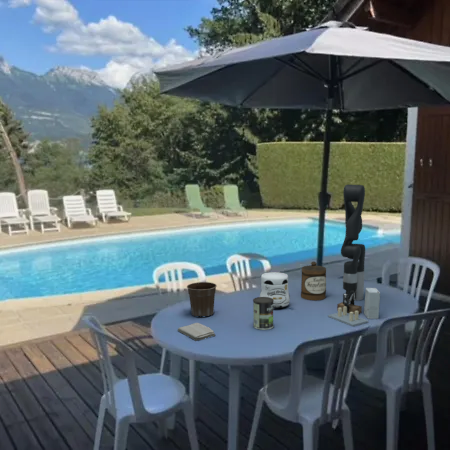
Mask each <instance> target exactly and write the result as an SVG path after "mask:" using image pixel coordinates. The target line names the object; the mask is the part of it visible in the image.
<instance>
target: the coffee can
mask: <svg viewBox="0 0 450 450" xmlns="http://www.w3.org/2000/svg"><path fill="white" fill-rule="evenodd" d="M273 301H274V300H273V299H272V298H269V297H260V296H258V297H254V298H253V299H252V302H253V306H252V307H253V311H252V312H253V319H252V321H253V328H254V329H257V330H260V331H261V330H262V331H265V330H271V329H273V328H274V308H273Z"/></svg>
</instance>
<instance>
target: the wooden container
mask: <svg viewBox="0 0 450 450" xmlns="http://www.w3.org/2000/svg"><path fill="white" fill-rule="evenodd" d="M317 264H318V263H317V262H316V261H311V262H310V265H304V266H302V267H301V283H300V290H301V292H300V297H301V298H302V299H304V300H307V301H323V300H325V299H326V298H327V268H326V267H324V266H323V265H317Z"/></svg>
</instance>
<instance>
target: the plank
mask: <svg viewBox="0 0 450 450" xmlns="http://www.w3.org/2000/svg"><path fill="white" fill-rule="evenodd" d="M344 306H345V305H344V304H343V301H342V302H339V303H337V312H338V308H342V312H343V307H344ZM355 311H359V315H360V313H361V314H362V311H363V306H361V305H358V304H354V305H353V304H350V303H349V311H348V312H347V313H349V314H350V312H354V316H355Z"/></svg>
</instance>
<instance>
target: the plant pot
mask: <svg viewBox="0 0 450 450" xmlns="http://www.w3.org/2000/svg"><path fill="white" fill-rule="evenodd" d="M217 287H218V286H217V284H216V283H214V282H208V281H199V282H193V283H190V284H188V285H187V286H186V288H187V292H188V293H187V294H188V296H189V304H190V311H191V313H190V314H191V316H193V315H194V316H193V317H195V316H200V317H201V316H209V315H211V316H213V315H214V313H215V296H216V295H215V294H216V288H217ZM212 314H213V315H212ZM209 317H210V316H209Z"/></svg>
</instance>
